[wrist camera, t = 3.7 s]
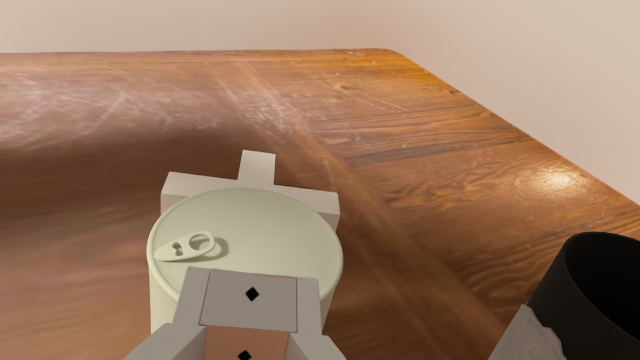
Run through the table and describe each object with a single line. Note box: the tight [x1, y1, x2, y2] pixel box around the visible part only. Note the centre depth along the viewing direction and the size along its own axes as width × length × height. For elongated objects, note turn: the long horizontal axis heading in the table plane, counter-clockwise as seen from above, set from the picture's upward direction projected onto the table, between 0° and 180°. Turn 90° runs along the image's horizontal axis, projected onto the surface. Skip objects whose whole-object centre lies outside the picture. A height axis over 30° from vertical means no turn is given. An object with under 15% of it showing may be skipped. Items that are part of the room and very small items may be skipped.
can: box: [147, 187, 343, 334], centre depth 25 cm, size 9×9×12 cm
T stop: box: [161, 150, 340, 232], centre depth 41 cm, size 8×14×4 cm, turn 92°
